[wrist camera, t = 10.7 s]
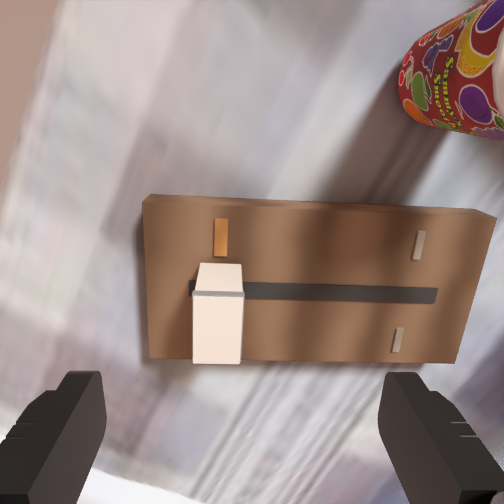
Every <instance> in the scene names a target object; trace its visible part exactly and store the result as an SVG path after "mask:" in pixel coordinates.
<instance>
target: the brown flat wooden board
mask: <svg viewBox="0 0 504 504" xmlns="http://www.w3.org/2000/svg"><path fill="white" fill-rule="evenodd" d="M142 210H143V232H144V254H145V277H146V299H147V321H148V343H149V358H157V359H192V292H193V290H195V287H196V282H197V277H198V272H199V268H200V263H222V264H241V270H242V287H243V292H244V293H245V300H244V318H243V336H242V354H241V360H273V361H332V362H390V363H448V364H455V361H456V357H457V354H458V350H459V347H460V343H461V340H462V336H463V333H464V330H465V326H466V323H467V319H468V316H469V312H470V309H471V306H472V302H473V299H474V295H475V292H476V288H477V285H478V282H479V278H480V275H481V271H482V268H483V264H484V261H485V258H486V254H487V251H488V247H489V244H490V240H491V237H492V234H493V230H494V227H495V223H496V220H497V218H496V217H493V216H491V215H488V214H486V213H483V212H481V211H478V210H476V209H464V208H442V207H420V206H398V205H376V204H354V203H332V202H310V201H288V200H266V199H244V198H222V197H201V196H179V195H157V194H150V195H149V196H148V197H147V198H146V199H145V200H144V201H143V202H142Z"/></svg>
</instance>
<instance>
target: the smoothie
mask: <svg viewBox="0 0 504 504" xmlns="http://www.w3.org/2000/svg"><path fill="white" fill-rule="evenodd" d="M398 90H399V96H400V101H401V103H402V105H403V107H404V108H405V110H406V112H407V114H409V115H410V116H411V117H412V118H413V119H414V120H416V121H417V122H419V123H422V124H425V125H428V126H432V127H437V128H442V129H447V130H452V131H456V132H461V133H466V134H471V135H476V136H481V137H485V138H490V139H495V140H500V141H504V0H485V1H483V2H481V3H479V4H478V5H476V6H474V7H472V8H470V9H469V10H467V11H465V12H463V13H461V14H460V15H458V16H456V17H454V18H452V19H451V20H449V21H447V22H445V23H443V24H442V25H440V26H438V27H436V28H434V29H433V30H431V31H429V32H427V33H426V34H425V35H423V36H422V37H421V38H420V39H418V40H417V41H416V42H415V43H414V44H413V46H412V47H411V49H410V50H409V51H408V53H407V54H406V56H405V58H404V61H403V63H402V66H401V68H400V71H399V80H398Z"/></svg>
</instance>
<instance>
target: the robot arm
mask: <svg viewBox="0 0 504 504" xmlns="http://www.w3.org/2000/svg"><path fill="white" fill-rule="evenodd" d="M106 419H107V416H106V407H105V400H104V392H103V385H102V377H101V374H100V372H99V371H69V372H68V373H67V374H66V376H65V377H64V379H63V380H62V382H61V383H60V385H59V386H58V388H57V389H56V390H46V391H45V392H44V393H43V394H41V395H40V396H39V397H37V398H36V399H35V400H34V401H32V402H31V403H30V404H29V405H28V406H27V407H26V409H25V410H24V411H23V413H22V414H21V416H20V417H19V418H18V420H17V421H16V425H13V427H12V428H11V430H10V431H9V432H8V434H7V435H6V439H5V440H3V441H2V442H1V444H0V504H76V503H77V501H78V498H79V496H80V493H81V491H82V489H83V486H84V484H85V481H86V479H87V476H88V474H89V472H90V469H91V467H92V464H93V462H94V459H95V457H96V455H97V452H98V450H99V447H100V445H101V442H102V440H103V437H104V433H105V429H106ZM378 428H379V433H380V436H381V439H382V441H383V443H384V446H385V448H386V450H387V453H388V455H389V457H390V459H391V462H392V464H393V466H394V468H395V471H396V473H397V475H398V478H399V480H400V482H401V484H402V487H403V489H404V491H405V494H406V496H407V498H408V500H409V503H410V504H504V471H503V470H502V469H501V467H500V466H499V465H498V463H497V462H496V461H495V459H494V458H493V457H492V455H491V454H490V453H489V451H488V450H487V448H486V447H485V446H484V444H483V443H482V442H481V440H480V439H479V438H477V437H476V434H475V432H474V431H473V430H472V428H471V427H470V425H469V424H466V420H465V419H464V417H463V416H462V415H461V413H460V412H459V411H458V409H457V408H456V407H455V405H454V404H453V403H451V402H450V401H449V400H447V399H446V398H445V397H444V396H442V395H441V394H440V393H439V392H437V391H429V389H428V388H427V386H426V385H425V384H424V382H423V381H422V379H421V378H420V376H419V375H418V374H417V373H415V372H388V373H387V374H386V376H385V380H384V385H383V390H382V396H381V401H380V406H379V412H378Z"/></svg>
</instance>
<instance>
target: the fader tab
mask: <svg viewBox="0 0 504 504" xmlns="http://www.w3.org/2000/svg"><path fill="white" fill-rule="evenodd" d="M244 300H245V293H244V292H243V287H242V270H241V264H222V263H200V268H199V272H198V277H197V282H196V287H195V290H193V292H192V362H193V364H240V363H241V354H242V336H243V318H244Z"/></svg>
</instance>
